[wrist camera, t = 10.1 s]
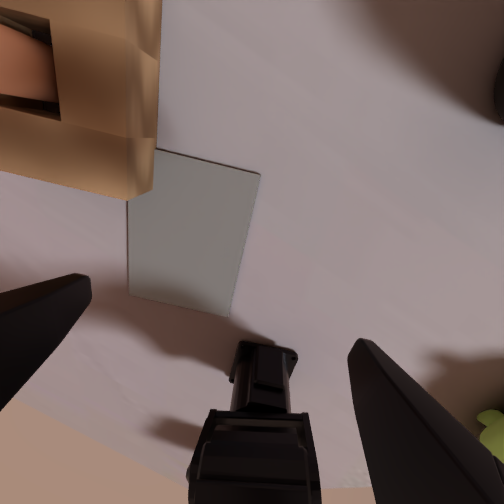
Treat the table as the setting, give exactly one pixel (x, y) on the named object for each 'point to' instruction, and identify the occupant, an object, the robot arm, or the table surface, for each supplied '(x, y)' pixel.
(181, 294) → the mat
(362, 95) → the table surface
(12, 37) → the peg
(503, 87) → the mug
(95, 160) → the socket block
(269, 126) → the table surface
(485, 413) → the teapot
